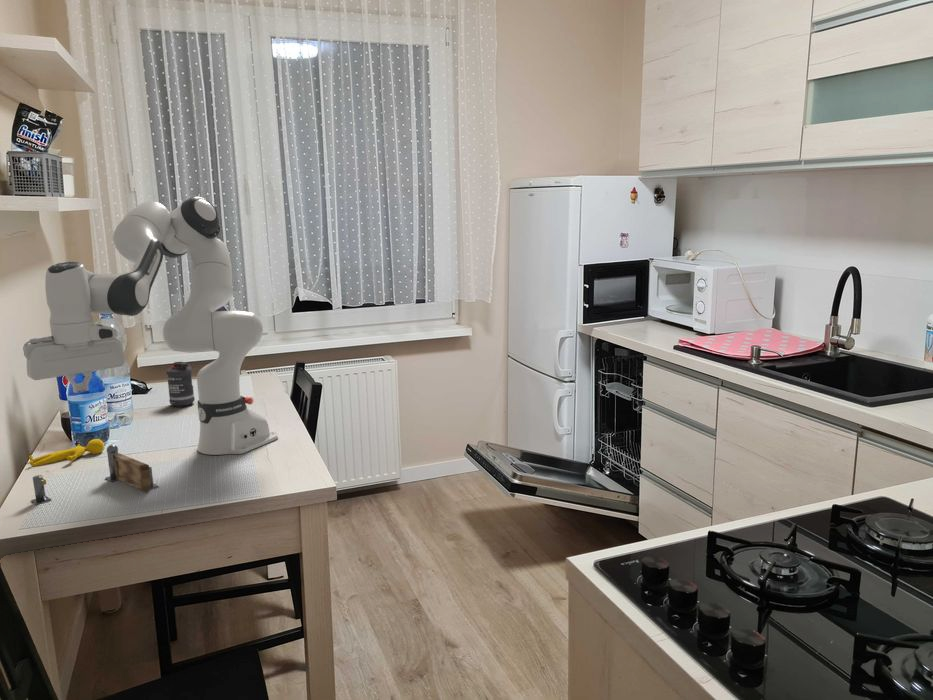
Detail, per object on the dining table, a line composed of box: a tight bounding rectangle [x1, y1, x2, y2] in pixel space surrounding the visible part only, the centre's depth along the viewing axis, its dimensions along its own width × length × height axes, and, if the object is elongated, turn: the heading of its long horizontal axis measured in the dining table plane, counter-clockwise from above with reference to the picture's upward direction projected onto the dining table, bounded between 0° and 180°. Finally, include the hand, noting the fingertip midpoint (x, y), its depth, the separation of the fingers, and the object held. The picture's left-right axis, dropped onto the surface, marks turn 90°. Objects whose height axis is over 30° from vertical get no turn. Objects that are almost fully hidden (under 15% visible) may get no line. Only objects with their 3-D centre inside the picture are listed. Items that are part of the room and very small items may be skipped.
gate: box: [113, 452, 152, 492], centre depth 170 cm, size 14×2×6 cm, turn 53°
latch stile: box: [30, 474, 52, 506], centre depth 162 cm, size 3×3×6 cm
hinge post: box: [105, 444, 119, 483], centre depth 175 cm, size 4×4×9 cm
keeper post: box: [149, 466, 160, 490], centre depth 170 cm, size 3×3×5 cm
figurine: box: [28, 438, 105, 467], centre depth 191 cm, size 14×5×18 cm
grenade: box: [166, 361, 195, 408], centre depth 239 cm, size 8×8×15 cm
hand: (81, 391), depth 163 cm, fingers closed
